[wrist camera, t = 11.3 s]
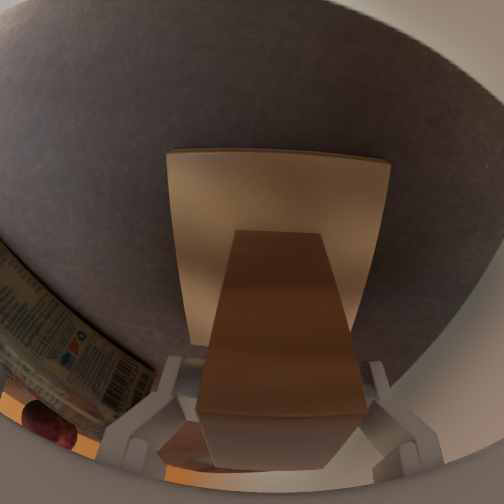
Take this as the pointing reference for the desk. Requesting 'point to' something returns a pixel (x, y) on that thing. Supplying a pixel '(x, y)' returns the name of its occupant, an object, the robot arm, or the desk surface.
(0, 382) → the disposable coffee cup
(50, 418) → the fruit
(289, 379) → the brown wooden block
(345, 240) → the board
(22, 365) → the beverage carton
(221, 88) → the desk surface
